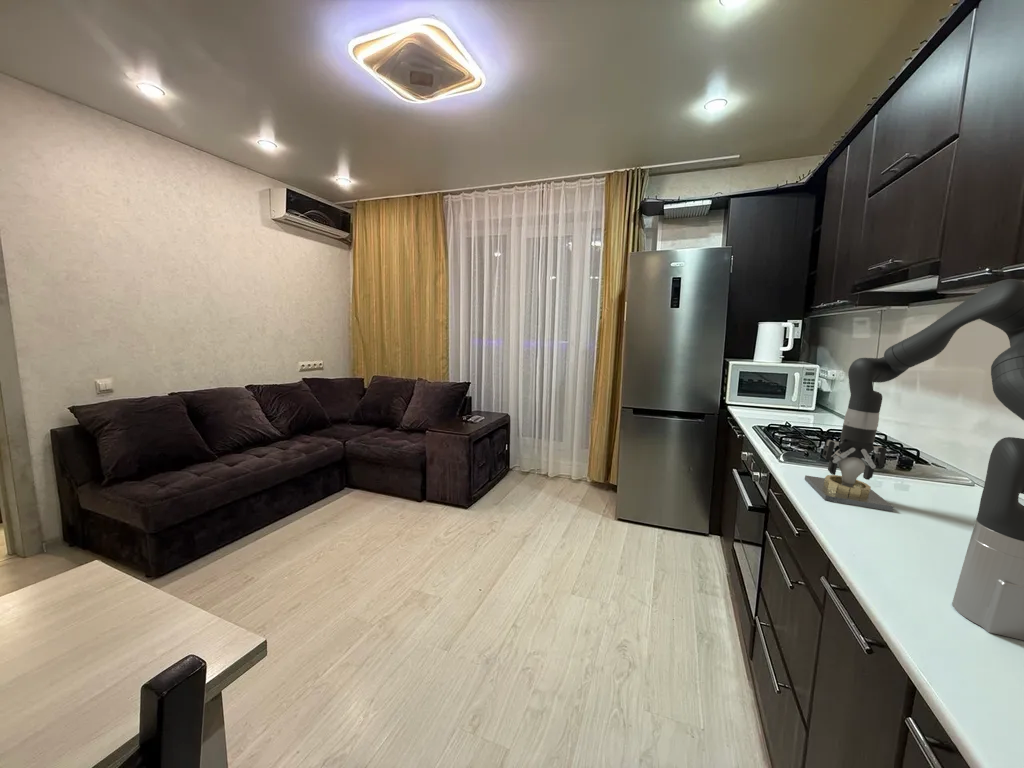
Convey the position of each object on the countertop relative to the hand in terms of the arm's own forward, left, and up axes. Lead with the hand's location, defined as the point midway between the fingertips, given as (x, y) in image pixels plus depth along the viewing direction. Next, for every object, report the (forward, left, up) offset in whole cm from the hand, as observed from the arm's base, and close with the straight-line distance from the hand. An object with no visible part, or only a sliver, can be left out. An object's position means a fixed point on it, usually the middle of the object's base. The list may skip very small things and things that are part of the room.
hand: (848, 476), depth 119 cm
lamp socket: (0, 0, -6) cm, 6 cm away
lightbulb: (0, 0, -5) cm, 5 cm away
